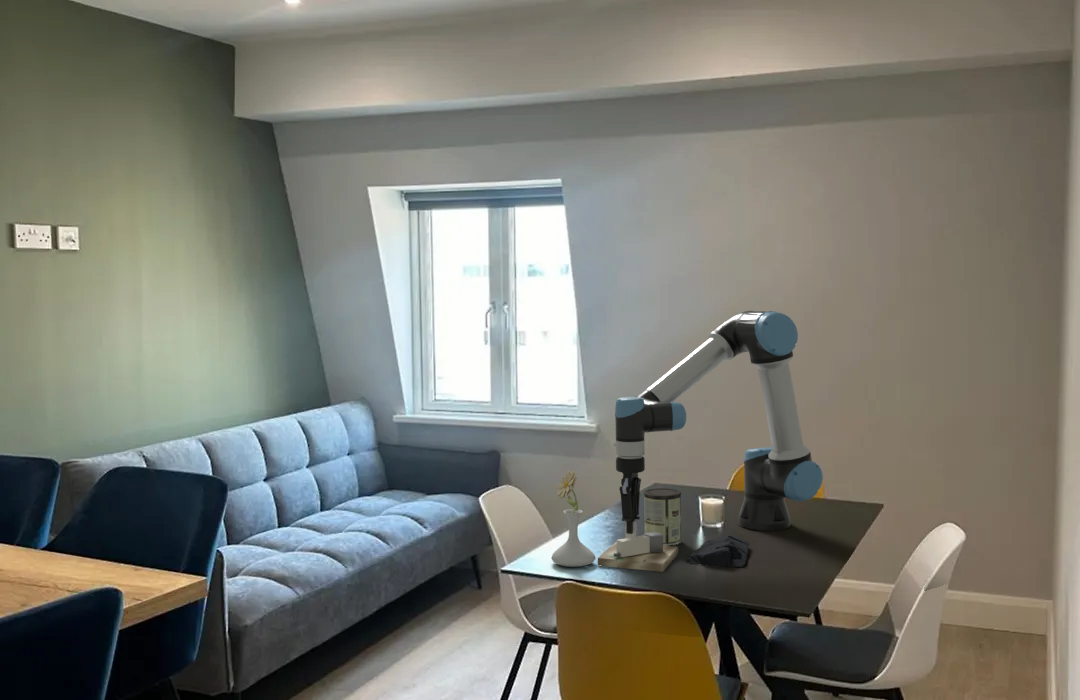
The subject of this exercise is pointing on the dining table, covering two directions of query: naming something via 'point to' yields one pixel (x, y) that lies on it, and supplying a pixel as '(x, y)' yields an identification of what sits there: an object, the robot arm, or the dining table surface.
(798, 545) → the dining table surface
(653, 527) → the coffee can
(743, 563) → the dark slate chunk
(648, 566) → the board
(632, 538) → the peg
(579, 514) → the flower in vase
